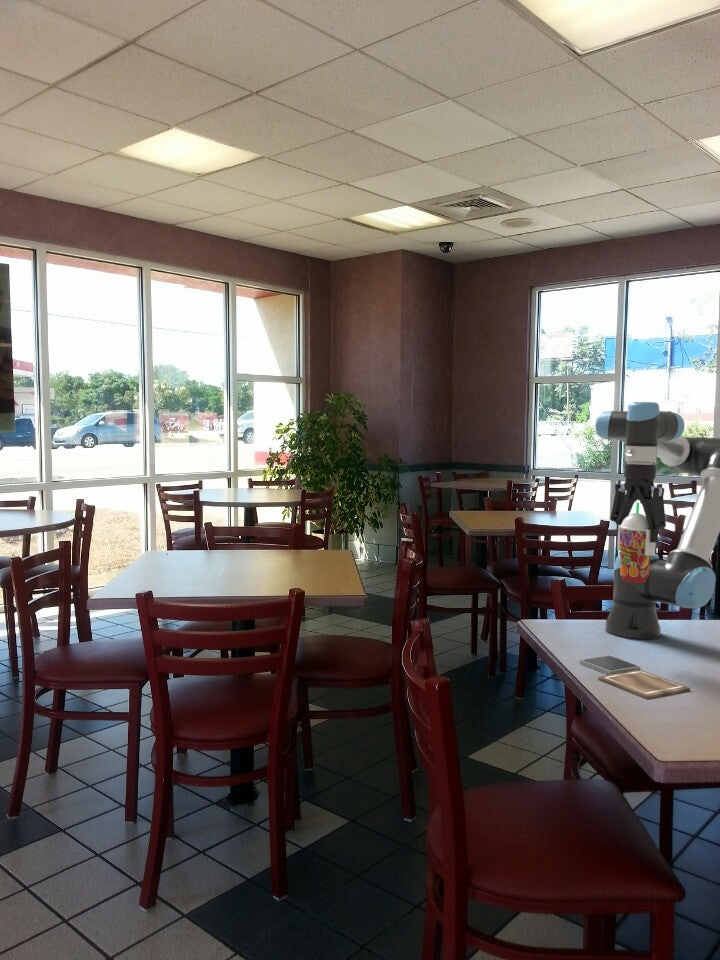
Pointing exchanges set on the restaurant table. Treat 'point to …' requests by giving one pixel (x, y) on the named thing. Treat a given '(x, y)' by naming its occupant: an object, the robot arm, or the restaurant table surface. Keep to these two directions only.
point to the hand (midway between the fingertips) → (635, 552)
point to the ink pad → (609, 665)
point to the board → (644, 684)
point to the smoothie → (634, 548)
